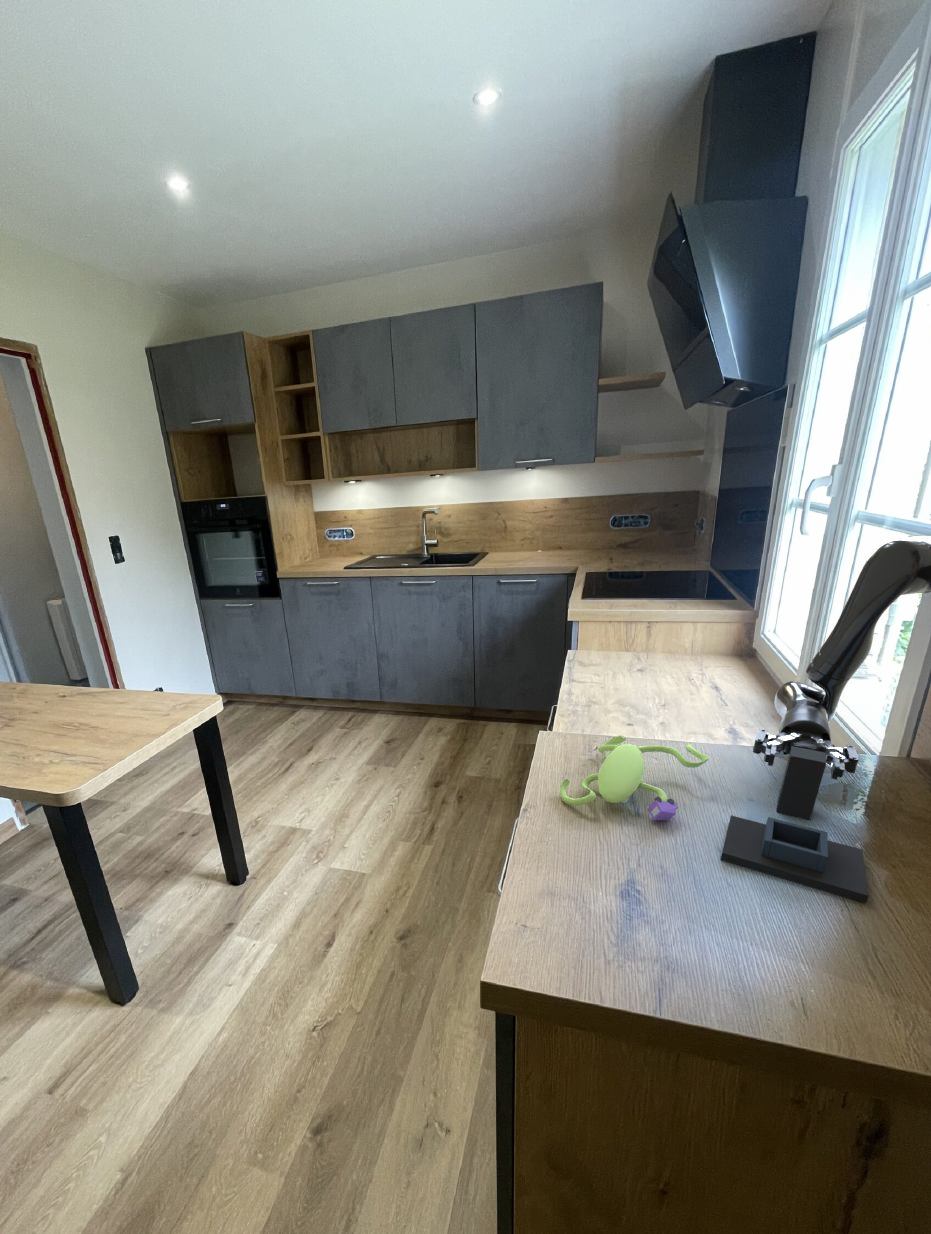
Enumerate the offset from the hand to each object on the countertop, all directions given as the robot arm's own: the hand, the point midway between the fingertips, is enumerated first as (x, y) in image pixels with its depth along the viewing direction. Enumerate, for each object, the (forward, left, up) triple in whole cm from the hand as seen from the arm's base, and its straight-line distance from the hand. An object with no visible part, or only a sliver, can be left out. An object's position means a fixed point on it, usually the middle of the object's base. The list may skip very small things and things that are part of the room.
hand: (802, 767), depth 88 cm
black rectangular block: (+1, +4, -6) cm, 7 cm away
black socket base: (+4, +18, -6) cm, 19 cm away
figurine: (+25, +4, -6) cm, 26 cm away
